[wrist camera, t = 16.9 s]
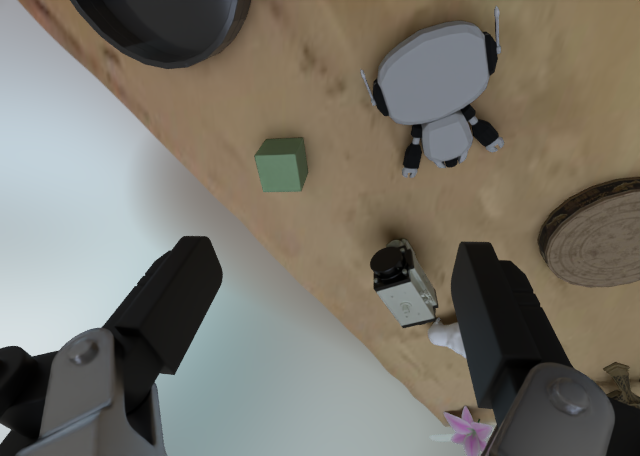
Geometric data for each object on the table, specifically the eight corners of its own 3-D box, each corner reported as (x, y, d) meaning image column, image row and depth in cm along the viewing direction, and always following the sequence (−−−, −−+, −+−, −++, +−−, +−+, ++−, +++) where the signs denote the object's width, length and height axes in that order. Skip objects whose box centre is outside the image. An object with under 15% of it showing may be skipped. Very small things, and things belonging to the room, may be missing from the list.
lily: (494, 399, 74) (486, 433, 67) (509, 439, 76) (502, 476, 69) (445, 391, 82) (433, 420, 76) (459, 427, 84) (449, 459, 77)
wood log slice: (677, 152, 34) (699, 164, 32) (693, 245, 41) (712, 261, 39) (521, 214, 42) (530, 228, 39) (556, 285, 48) (565, 300, 46)
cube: (265, 139, 40) (254, 155, 36) (303, 137, 39) (295, 154, 36) (273, 173, 43) (263, 192, 39) (308, 172, 42) (301, 191, 39)
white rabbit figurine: (511, 373, 49) (432, 371, 55) (500, 326, 56) (431, 329, 61) (507, 351, 46) (424, 352, 51) (496, 304, 52) (423, 309, 58)
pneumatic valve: (402, 277, 52) (407, 341, 43) (369, 227, 47) (368, 288, 37) (434, 267, 50) (448, 332, 40) (404, 214, 44) (411, 275, 35)
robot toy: (501, 136, 37) (485, -7, 28) (515, 155, 33) (501, -1, 25) (399, 170, 41) (358, 55, 33) (401, 189, 38) (357, 67, 29)
